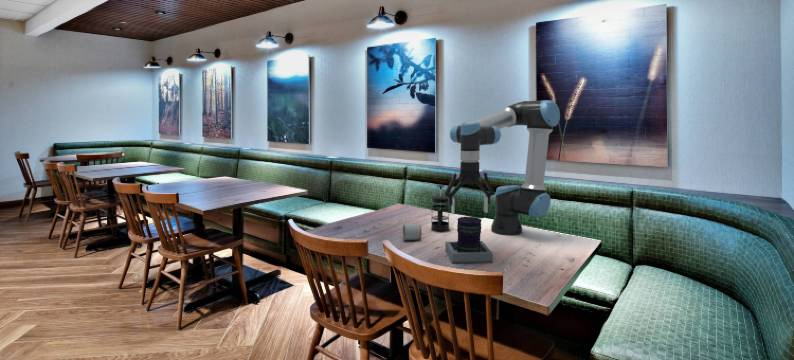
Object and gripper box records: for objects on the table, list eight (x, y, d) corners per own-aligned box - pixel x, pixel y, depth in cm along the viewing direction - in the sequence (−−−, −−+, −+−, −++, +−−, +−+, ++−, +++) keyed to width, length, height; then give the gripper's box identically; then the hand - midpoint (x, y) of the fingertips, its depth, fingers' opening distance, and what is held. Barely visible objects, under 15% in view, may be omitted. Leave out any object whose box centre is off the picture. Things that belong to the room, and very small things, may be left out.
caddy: (481, 249, 181) (482, 240, 180) (492, 262, 165) (492, 252, 164) (445, 250, 180) (445, 241, 179) (452, 263, 164) (452, 253, 164)
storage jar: (454, 250, 177) (455, 216, 175) (477, 250, 178) (478, 216, 175) (459, 258, 167) (460, 222, 165) (483, 258, 168) (484, 222, 165)
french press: (431, 226, 219) (432, 183, 216) (449, 227, 218) (450, 183, 214) (429, 232, 208) (430, 187, 204) (448, 233, 206) (449, 187, 203)
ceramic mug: (422, 241, 193) (422, 225, 192) (404, 242, 192) (404, 226, 191) (418, 235, 203) (418, 220, 202) (401, 236, 202) (401, 220, 201)
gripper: (440, 163, 162) (440, 215, 165) (503, 161, 163) (502, 213, 167) (437, 160, 169) (437, 211, 173) (497, 159, 171) (496, 209, 174)
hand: (469, 212), depth 170 cm, fingers open, 13 cm apart
